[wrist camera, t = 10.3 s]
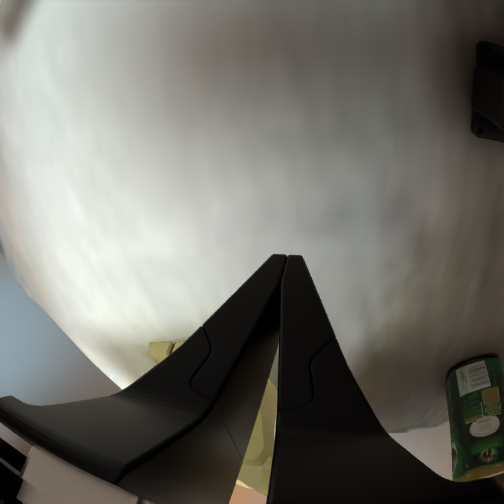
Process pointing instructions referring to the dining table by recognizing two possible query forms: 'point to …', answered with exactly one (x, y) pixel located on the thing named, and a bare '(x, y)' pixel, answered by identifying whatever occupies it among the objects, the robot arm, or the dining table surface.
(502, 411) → the coffee jar
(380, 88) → the dining table surface
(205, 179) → the dining table surface
